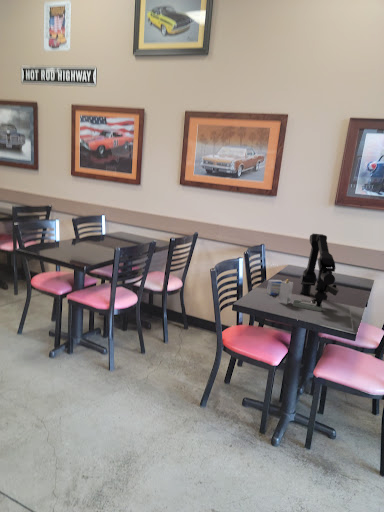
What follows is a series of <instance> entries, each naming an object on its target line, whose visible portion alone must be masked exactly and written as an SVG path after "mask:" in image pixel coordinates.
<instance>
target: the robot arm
mask: <svg viewBox="0 0 384 512" xmlns="http://www.w3.org/2000/svg"><path fill="white" fill-rule="evenodd" d="M309 243H310V246H311V248H310V253H309V257H308V263H307V266H306V269H304V271H303V272H302V274H301V276H300V278H299V284H300V285H301V289H300V292H299V295H304V296H312V291H311V290H312V287H313V286H315V287H314V288H315V290H314V291H315V292H314V299H316V303H317V306H318V307H320V305H321V304H322V303H323V301H327V300H328V293H329V294H332V295H333V296H335V297H336V296H337V294H338V293H339V288H338V287H337V284H335V281H336V277H335V275H334V274H333V272H334V273H335V272H336V269H337V268H336V262H335V259H334V257H333V255H332V254H331V253H330V251H329V246H328V236H327V235H325V234H322V233H312V234H311V235H310V236H309ZM317 264H318V274H317V275H316V273H315V270H316V265H317Z"/></svg>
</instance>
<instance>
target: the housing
mask: <svg viewBox="0 0 384 512" xmlns="http://www.w3.org/2000/svg"><path fill="white" fill-rule="evenodd" d="M289 279H290V278H289ZM289 279H288V278H287V279H286V280H283V281H282V280H281V281H282V282H281V286H280V293H278V301H277V303H279V304H283V305H289V304H290V303H291V301H292V293H293V286H294V282H293V281H290V280H289Z"/></svg>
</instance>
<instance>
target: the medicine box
mask: <svg viewBox="0 0 384 512" xmlns="http://www.w3.org/2000/svg"><path fill="white" fill-rule="evenodd" d="M281 282H282V280H281V279H268V280H267V288H266V294H267V295H269V296H279V294H280V286H281Z"/></svg>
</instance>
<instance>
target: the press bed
mask: <svg viewBox="0 0 384 512" xmlns="http://www.w3.org/2000/svg"><path fill="white" fill-rule="evenodd" d="M322 306H323V304H322V303H321V305H320V307H318V306H317V302H316V306H311V305H306V304H301V299H293V303H292V307H297V308H302V309H306V310H312V311H317V312H322V310H323V307H322Z"/></svg>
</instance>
